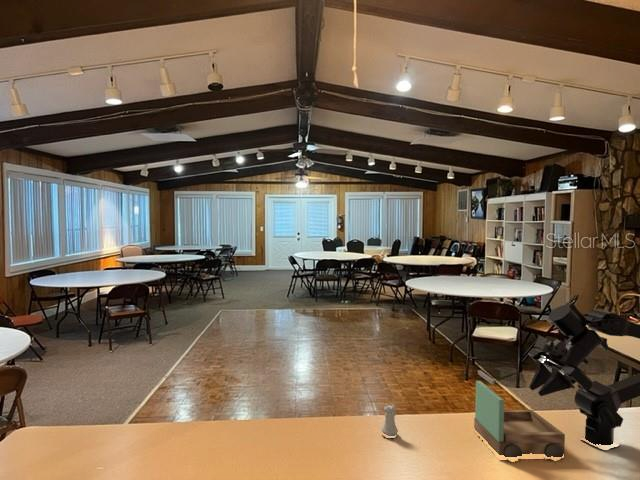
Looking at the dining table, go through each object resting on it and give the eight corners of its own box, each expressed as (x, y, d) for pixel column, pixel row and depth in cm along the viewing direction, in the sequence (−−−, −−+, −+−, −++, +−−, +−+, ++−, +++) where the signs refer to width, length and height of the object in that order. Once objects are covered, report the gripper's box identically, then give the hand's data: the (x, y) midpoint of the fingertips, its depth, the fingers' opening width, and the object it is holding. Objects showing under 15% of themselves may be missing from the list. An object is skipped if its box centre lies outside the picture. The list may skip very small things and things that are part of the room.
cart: (529, 430, 116) (529, 408, 116) (567, 461, 100) (567, 436, 100) (472, 430, 115) (472, 408, 115) (501, 462, 99) (501, 437, 99)
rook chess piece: (385, 440, 109) (385, 409, 109) (378, 432, 113) (378, 403, 113) (401, 438, 110) (401, 408, 110) (393, 430, 114) (394, 401, 114)
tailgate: (479, 417, 113) (480, 367, 113) (503, 441, 100) (504, 384, 100) (473, 417, 113) (473, 367, 113) (496, 441, 100) (497, 384, 100)
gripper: (535, 318, 117) (496, 358, 116) (581, 335, 98) (534, 382, 97) (562, 347, 117) (523, 387, 117) (613, 368, 99) (566, 416, 98)
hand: (534, 391), depth 107 cm, fingers open, 4 cm apart
